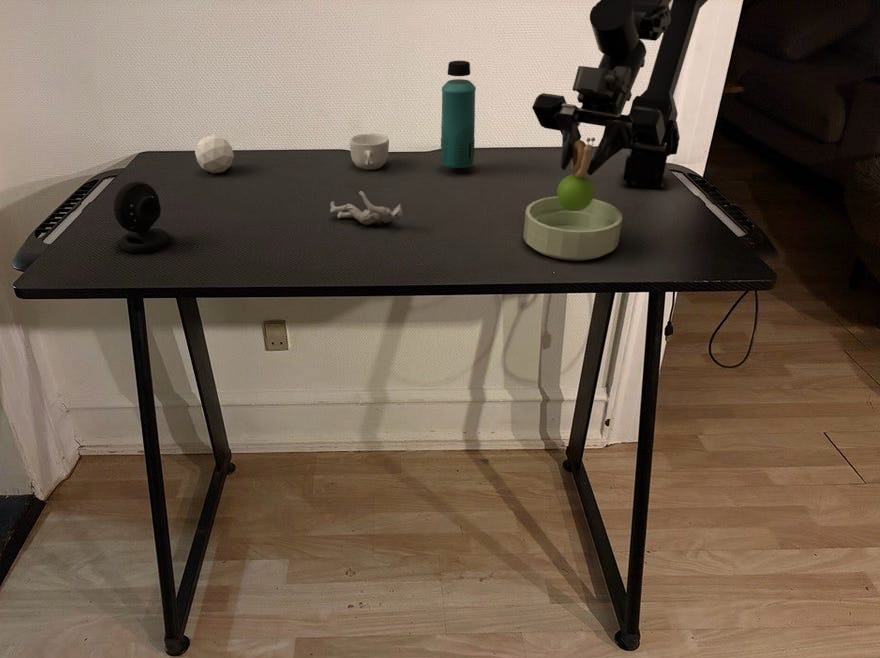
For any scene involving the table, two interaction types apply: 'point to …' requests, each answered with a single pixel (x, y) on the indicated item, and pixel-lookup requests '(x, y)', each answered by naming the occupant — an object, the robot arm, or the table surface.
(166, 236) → the webcam
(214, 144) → the ornament
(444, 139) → the beverage bottle
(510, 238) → the table surface
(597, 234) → the basin
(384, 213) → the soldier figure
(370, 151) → the teacup
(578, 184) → the snail figurine
